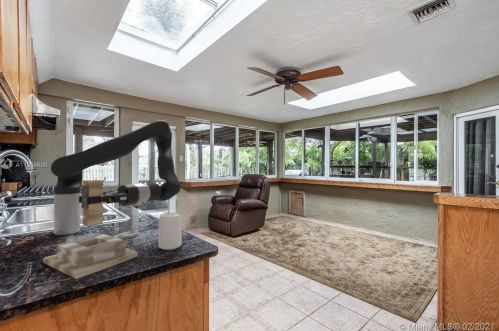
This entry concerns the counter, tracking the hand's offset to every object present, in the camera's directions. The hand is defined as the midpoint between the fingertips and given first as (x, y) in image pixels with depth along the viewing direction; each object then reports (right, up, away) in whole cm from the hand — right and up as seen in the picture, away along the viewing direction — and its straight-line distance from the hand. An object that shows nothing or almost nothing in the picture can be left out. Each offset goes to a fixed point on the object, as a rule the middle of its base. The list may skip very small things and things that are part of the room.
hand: (83, 200), depth 73 cm
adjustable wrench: (-6, -20, +20) cm, 29 cm away
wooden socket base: (+1, -19, +3) cm, 20 cm away
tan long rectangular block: (+1, -8, +3) cm, 8 cm away
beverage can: (+22, -20, +15) cm, 33 cm away
